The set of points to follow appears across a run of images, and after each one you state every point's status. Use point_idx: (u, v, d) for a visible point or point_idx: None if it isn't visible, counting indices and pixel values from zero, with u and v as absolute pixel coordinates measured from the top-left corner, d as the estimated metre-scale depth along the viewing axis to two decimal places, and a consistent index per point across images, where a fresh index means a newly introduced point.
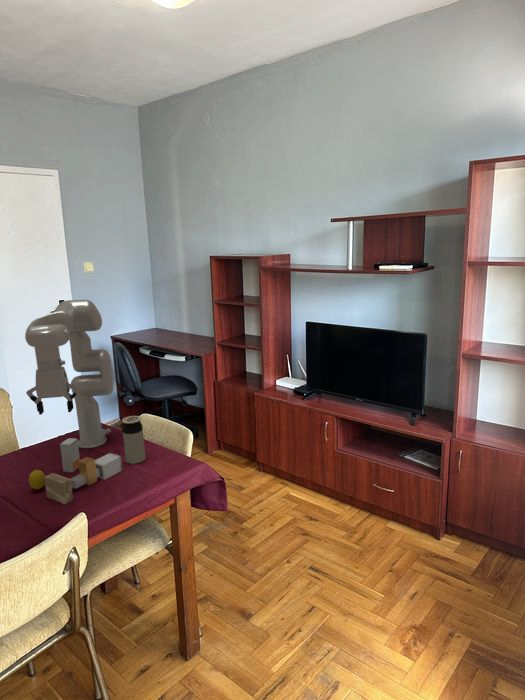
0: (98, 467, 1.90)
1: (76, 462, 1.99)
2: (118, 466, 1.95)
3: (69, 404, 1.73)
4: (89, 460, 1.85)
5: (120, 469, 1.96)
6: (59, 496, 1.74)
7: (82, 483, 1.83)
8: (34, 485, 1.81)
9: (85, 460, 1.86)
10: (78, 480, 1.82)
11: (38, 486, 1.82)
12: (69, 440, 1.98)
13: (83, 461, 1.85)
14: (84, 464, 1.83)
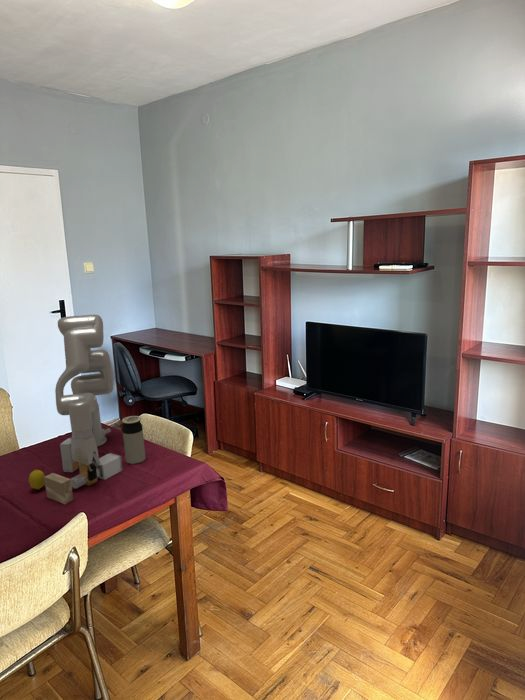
0: (98, 467, 1.90)
1: (76, 462, 1.99)
2: (118, 466, 1.95)
3: None
4: None
5: (120, 469, 1.96)
6: (59, 496, 1.74)
7: (82, 483, 1.83)
8: (34, 485, 1.81)
9: None
10: (78, 480, 1.82)
11: (38, 486, 1.82)
12: (69, 440, 1.98)
13: None
14: (84, 464, 1.83)
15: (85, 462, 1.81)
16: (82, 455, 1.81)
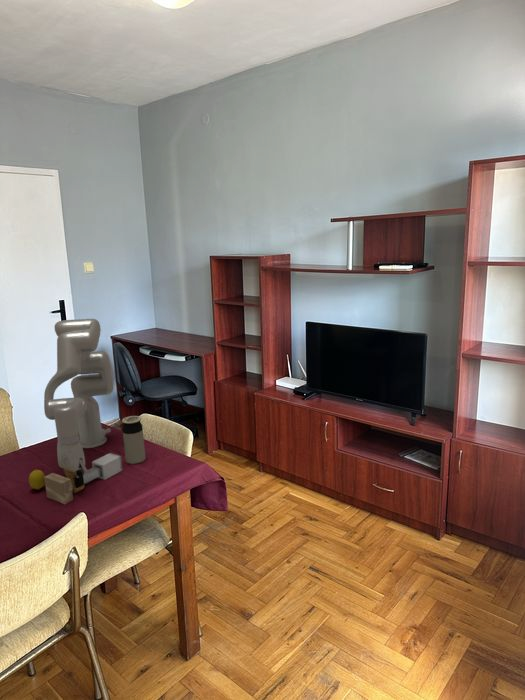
0: (85, 474, 1.85)
1: None
2: (118, 466, 1.95)
3: None
4: None
5: (120, 469, 1.96)
6: (59, 496, 1.74)
7: None
8: (34, 485, 1.81)
9: None
10: None
11: (38, 486, 1.82)
12: None
13: None
14: None
15: (71, 469, 1.77)
16: (68, 462, 1.77)
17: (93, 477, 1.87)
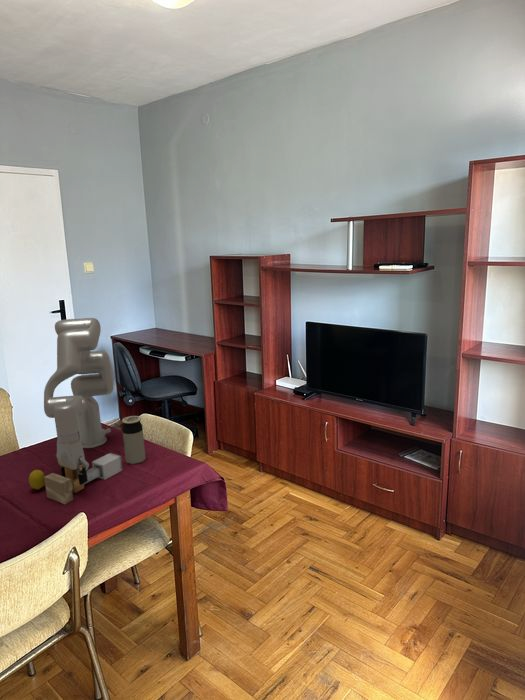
0: None
1: None
2: (118, 466, 1.95)
3: None
4: None
5: (120, 469, 1.96)
6: (59, 496, 1.74)
7: None
8: (34, 485, 1.81)
9: None
10: None
11: (38, 486, 1.82)
12: None
13: None
14: (70, 470, 1.78)
15: (71, 467, 1.77)
16: (68, 460, 1.77)
17: (93, 477, 1.87)
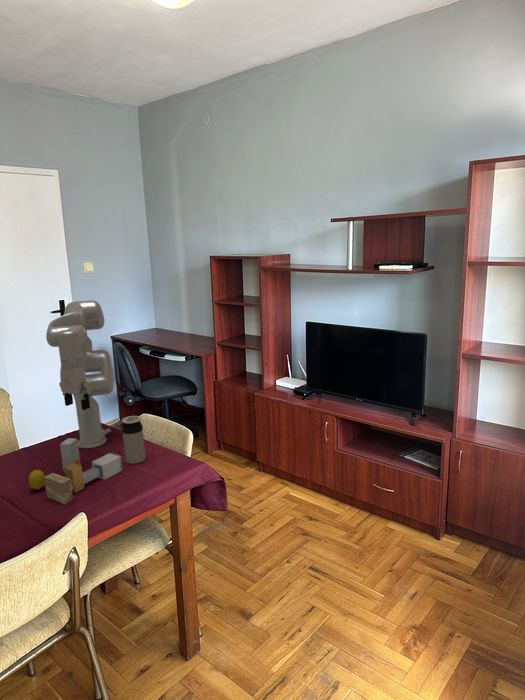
0: (85, 474, 1.85)
1: (76, 462, 1.99)
2: (118, 466, 1.95)
3: None
4: (75, 467, 1.80)
5: (120, 469, 1.96)
6: (59, 496, 1.74)
7: None
8: (34, 485, 1.81)
9: (71, 466, 1.81)
10: None
11: (38, 486, 1.82)
12: (69, 440, 1.98)
13: (69, 468, 1.80)
14: (70, 470, 1.78)
15: (74, 392, 1.82)
16: (71, 385, 1.82)
17: (93, 477, 1.87)
